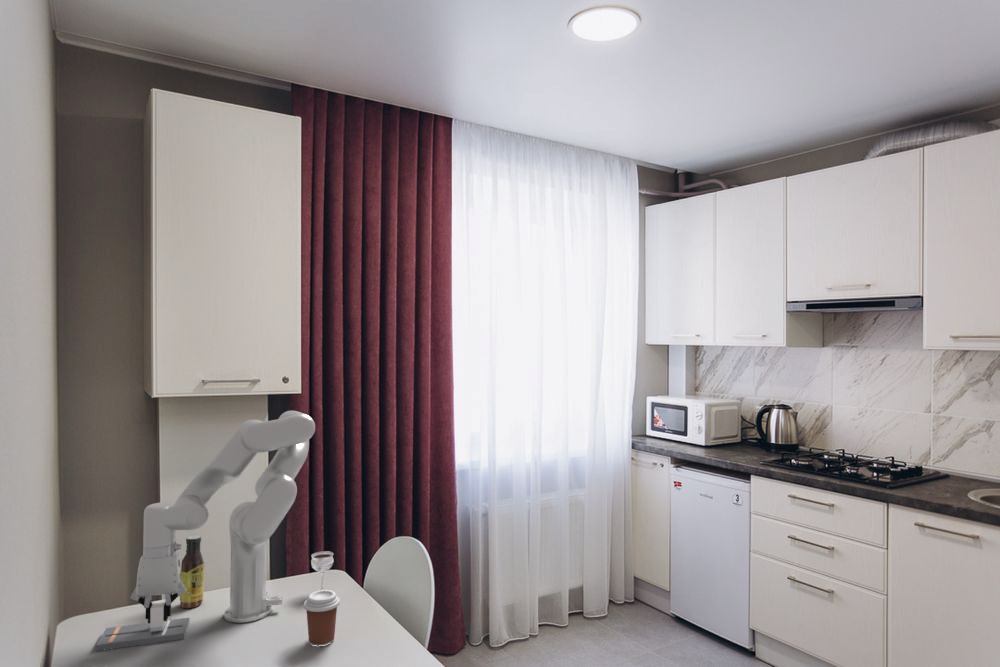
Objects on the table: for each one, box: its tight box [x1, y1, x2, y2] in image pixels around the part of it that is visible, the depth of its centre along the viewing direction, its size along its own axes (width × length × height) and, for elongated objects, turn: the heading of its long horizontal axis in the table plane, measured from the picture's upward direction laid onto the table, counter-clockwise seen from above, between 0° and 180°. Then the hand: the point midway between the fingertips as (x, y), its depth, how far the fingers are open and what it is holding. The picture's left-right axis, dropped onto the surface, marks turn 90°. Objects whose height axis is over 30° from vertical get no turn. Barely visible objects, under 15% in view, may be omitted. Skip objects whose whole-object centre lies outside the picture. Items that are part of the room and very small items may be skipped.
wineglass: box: [310, 550, 335, 590], centre depth 192 cm, size 7×7×12 cm
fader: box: [150, 600, 166, 632], centre depth 165 cm, size 3×5×6 cm, turn 19°
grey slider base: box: [95, 617, 191, 652], centre depth 164 cm, size 20×10×2 cm, turn 109°
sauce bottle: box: [179, 535, 205, 609], centre depth 184 cm, size 7×6×20 cm
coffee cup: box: [303, 589, 341, 646], centre depth 161 cm, size 9×9×12 cm
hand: (158, 619), depth 165 cm, fingers closed on fader, 3 cm apart
